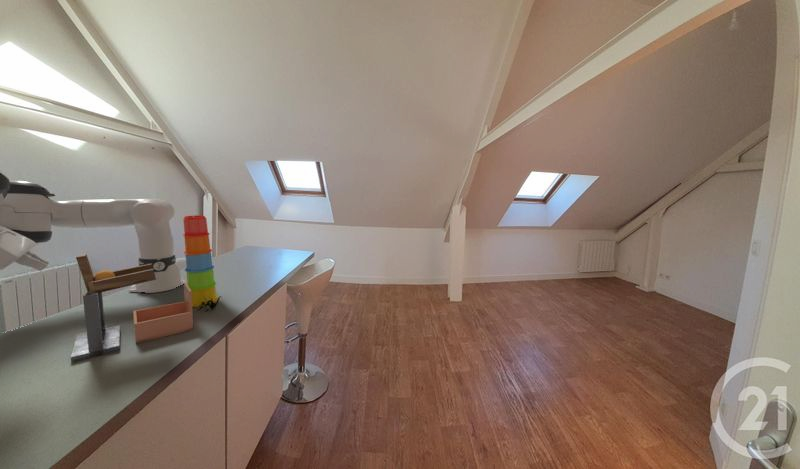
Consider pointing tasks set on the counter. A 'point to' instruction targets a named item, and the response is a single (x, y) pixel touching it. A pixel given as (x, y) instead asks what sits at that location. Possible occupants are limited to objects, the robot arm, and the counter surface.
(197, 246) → the stacking cups
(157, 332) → the cup
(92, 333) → the lever stand
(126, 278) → the lever
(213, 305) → the creature
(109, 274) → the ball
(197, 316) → the counter surface
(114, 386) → the counter surface
